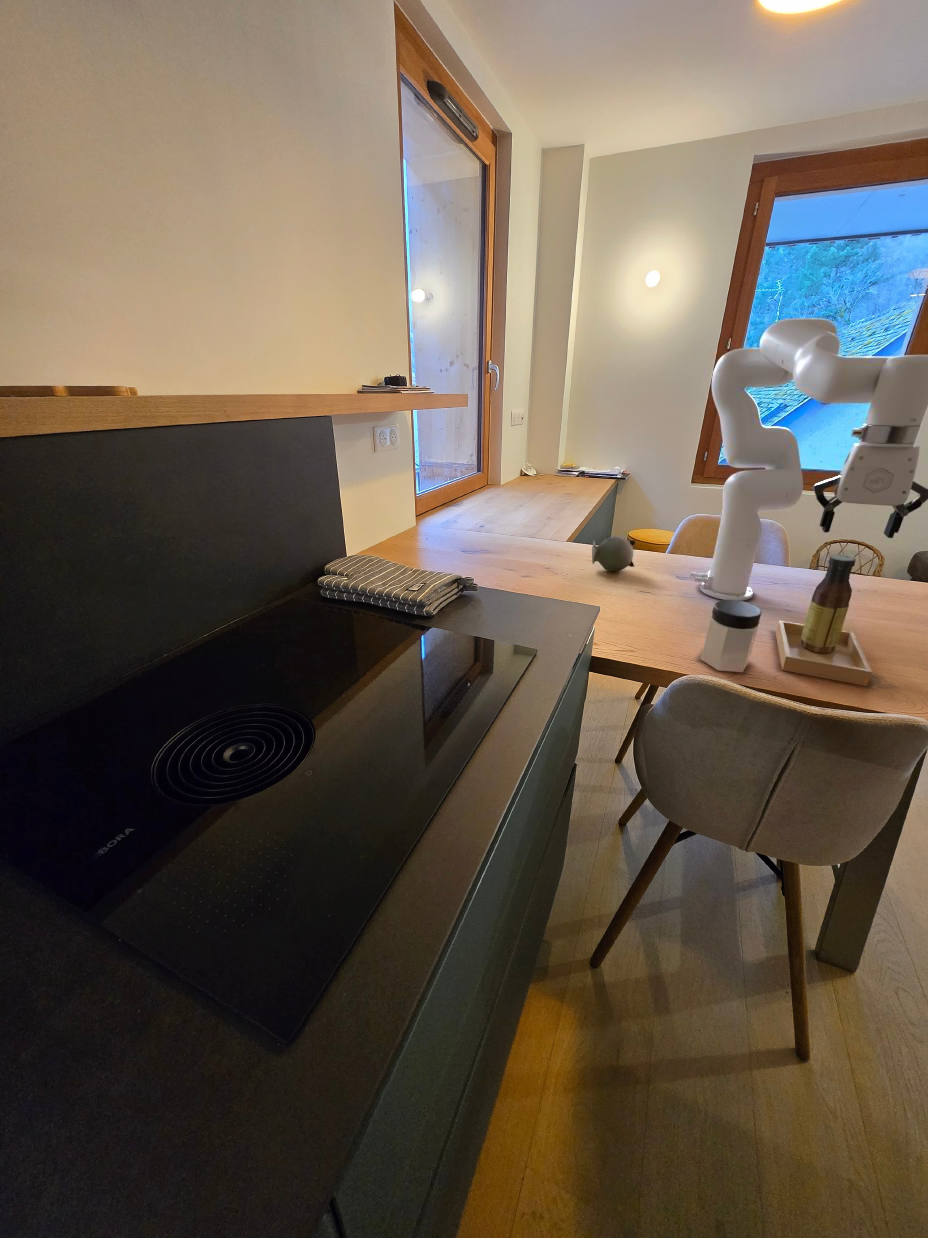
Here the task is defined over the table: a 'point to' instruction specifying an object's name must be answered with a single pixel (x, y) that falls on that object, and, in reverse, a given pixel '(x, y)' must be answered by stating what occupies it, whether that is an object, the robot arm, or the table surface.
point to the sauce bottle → (829, 607)
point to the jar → (731, 635)
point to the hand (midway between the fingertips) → (855, 533)
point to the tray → (822, 656)
